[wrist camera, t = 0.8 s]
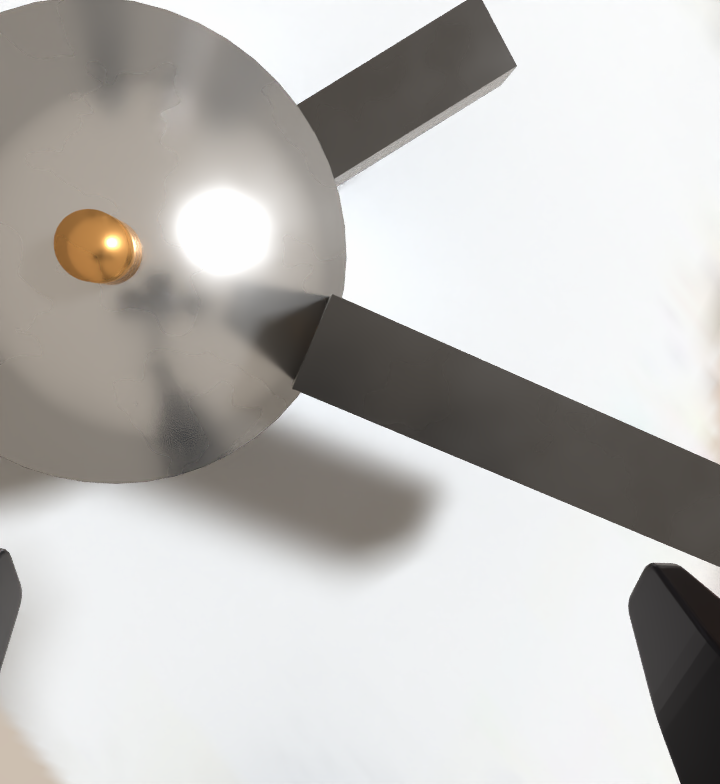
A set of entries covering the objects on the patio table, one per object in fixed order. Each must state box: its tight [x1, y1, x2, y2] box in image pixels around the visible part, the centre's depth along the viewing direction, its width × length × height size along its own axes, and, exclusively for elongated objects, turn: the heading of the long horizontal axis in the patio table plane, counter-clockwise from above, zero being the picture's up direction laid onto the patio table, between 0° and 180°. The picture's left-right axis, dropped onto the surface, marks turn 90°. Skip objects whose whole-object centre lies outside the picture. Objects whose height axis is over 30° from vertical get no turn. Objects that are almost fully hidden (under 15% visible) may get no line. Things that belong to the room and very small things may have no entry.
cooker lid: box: [0, 0, 720, 567], centre depth 17 cm, size 26×13×3 cm, turn 66°
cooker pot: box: [297, 0, 517, 187], centre depth 22 cm, size 22×13×7 cm, turn 121°
